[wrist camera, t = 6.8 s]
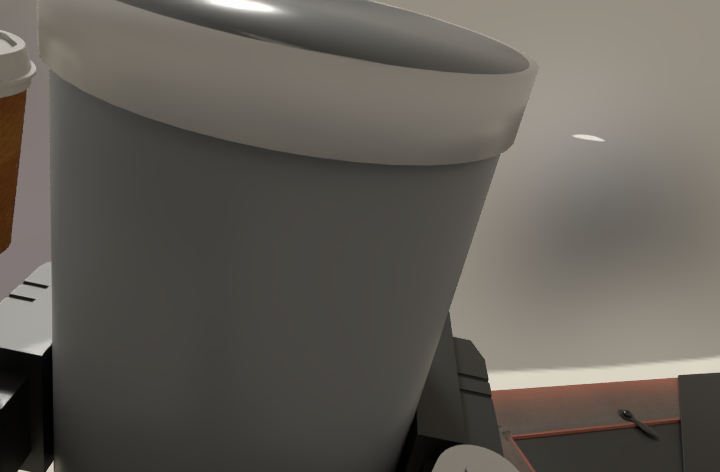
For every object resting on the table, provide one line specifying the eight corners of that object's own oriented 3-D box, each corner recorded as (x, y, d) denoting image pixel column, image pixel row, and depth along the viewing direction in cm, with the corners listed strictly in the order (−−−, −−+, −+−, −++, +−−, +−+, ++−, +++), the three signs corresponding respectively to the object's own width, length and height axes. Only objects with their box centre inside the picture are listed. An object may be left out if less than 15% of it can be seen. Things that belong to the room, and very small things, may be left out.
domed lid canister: (29, 908, 10) (-29, 1, 4) (68, 587, 14) (69, -64, 8) (346, 816, 12) (648, 108, 6) (293, 557, 16) (428, 8, 10)
